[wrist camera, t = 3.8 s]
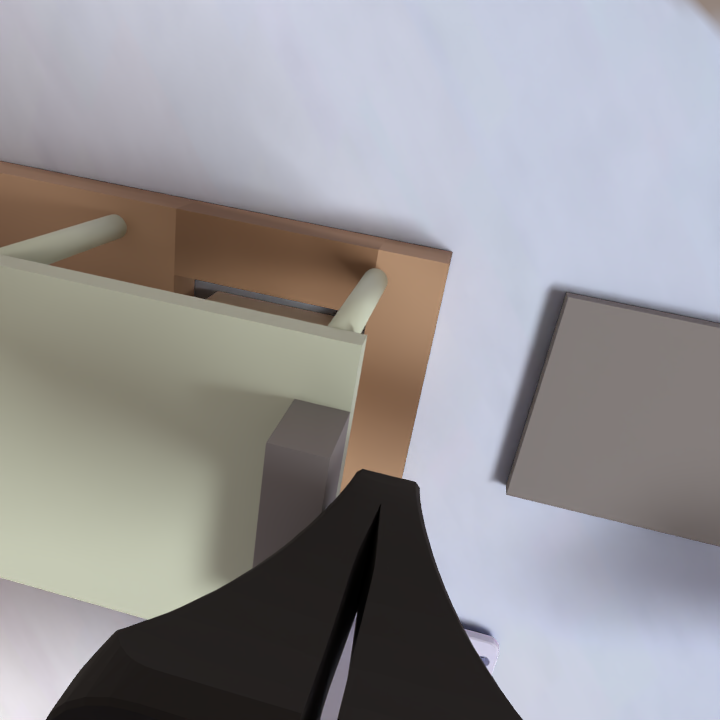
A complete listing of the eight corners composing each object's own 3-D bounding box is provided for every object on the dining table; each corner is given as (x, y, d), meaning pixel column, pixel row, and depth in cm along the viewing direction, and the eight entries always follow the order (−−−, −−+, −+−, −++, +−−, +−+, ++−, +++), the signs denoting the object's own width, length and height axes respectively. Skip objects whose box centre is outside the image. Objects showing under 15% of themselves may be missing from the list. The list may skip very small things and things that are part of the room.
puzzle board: (392, 518, 22) (386, 545, 21) (-6, 418, 24) (-35, 437, 23) (452, 251, 18) (449, 264, 17) (-34, 154, 20) (-72, 158, 18)
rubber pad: (718, 537, 20) (723, 547, 20) (506, 485, 21) (506, 494, 20) (817, 343, 17) (826, 349, 17) (566, 292, 18) (568, 297, 17)
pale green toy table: (349, 531, 20) (285, 731, 14) (102, 468, 21) (-65, 627, 15) (398, 273, 17) (342, 381, 10) (96, 210, 18) (-130, 273, 11)
